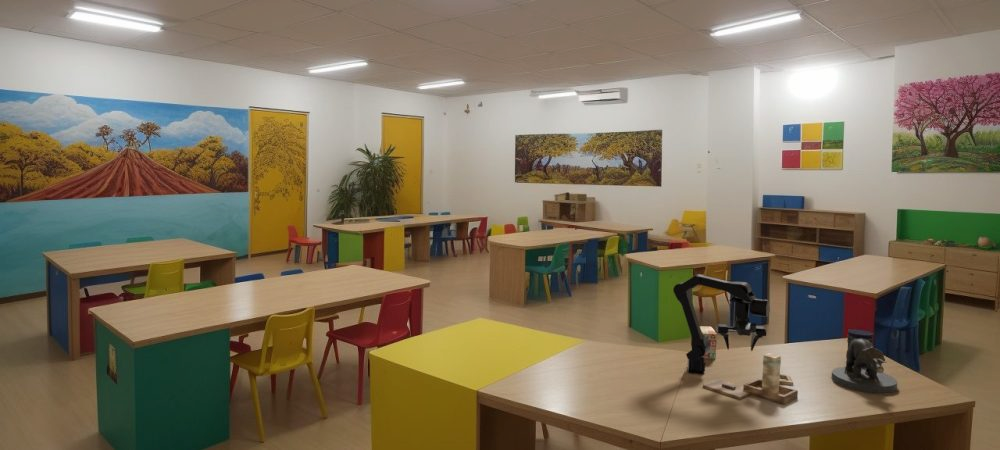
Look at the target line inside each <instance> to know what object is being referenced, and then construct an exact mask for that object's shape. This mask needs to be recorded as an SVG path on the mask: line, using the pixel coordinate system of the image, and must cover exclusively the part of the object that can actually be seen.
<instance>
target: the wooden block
mask: <svg viewBox="0 0 1000 450" xmlns="http://www.w3.org/2000/svg"><path fill="white" fill-rule="evenodd" d="M781 358H782V356H781V355H779V354H775V353H772V352H769V353H766V354H763V357H762V359H763V360H762V376H761V377H762V378H761V380H762V389H763V390H766V391H769V392H772V393H775V394H779V385H780V384H779V380H781V378H780V374H781V363H782V362H781V361H782V359H781Z"/></svg>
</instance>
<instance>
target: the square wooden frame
mask: <svg viewBox="0 0 1000 450" xmlns="http://www.w3.org/2000/svg"><path fill="white" fill-rule="evenodd" d="M783 379H786V380H783ZM779 385H789V386H794V381H793V378H792V377H791V375H790V374H784V373H780V380H779Z"/></svg>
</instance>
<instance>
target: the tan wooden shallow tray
mask: <svg viewBox="0 0 1000 450" xmlns="http://www.w3.org/2000/svg"><path fill="white" fill-rule="evenodd" d="M742 387H743V390H747V391H750V392H751V395H750V396H755V397H758V398H761V399H764V400H767V401H770V402H774V403H777V404H780V405H783V406H784V405H786V404H788V403H791V402H793V401H794V400H796V399H798V392H799V391H798V389H796V388H795V389H794V388H791V387H788V386H784V385H782V384H779V394H775V393H772V392H769V391H766V390H763V389H762V378H756V379H753V380H751V381H748V382H746V383H744V384H743V386H742Z"/></svg>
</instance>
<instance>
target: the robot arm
mask: <svg viewBox="0 0 1000 450" xmlns="http://www.w3.org/2000/svg"><path fill="white" fill-rule="evenodd" d="M699 285H700V286H703V287H708V288H711V289H716V290H720V291H723V292H727V293H728V294H729V295H731V296H732V297H731V298H730V299H729V300H728V301H729V302H731V303H733V304H734V305H733V307H734V308H733V324H732V325H733V326H728V325H727V324H726V323H717V324H716V325H715V332H716V333H717V334H719V335H720V336H723V339H724V342H725V346H726V348H727V350H728V351H729V350H730V343H729V340H730V339H729V337H730V335H729V332H732V333H733V332H735V333H737V335H739V336H748V337H750V336H751V338H750V339H751V340H750V351H751V352H753V350H754V348H755V345H756V344H757V341H759V340H760V339H763V337H767V330H766V329H765V327H764V326H762V325H757V324H756V323H755V322H754V323H753V322H750V314H752V316H758V317H762V318H763V317H764V318H765V317H766V318H768V317H770V312H771V311H770V310H771V307H770V303H769V300H768V299H761V298H757V296H756V295H755V293H754V292H753V291H752V286H751V284H749V282H746V281H728V280H723V279H719V278H716V277H711V276H707V275H703V274H699V273H698V274H695V275H693V276H692V277H690V278H689V279H687V280H686V281H682V282H679V283H677V284H675V285H674V287H673V289H672V290H673V291H672V292H673V294H674V296H675V298H676V300H677V301H678V303H680V305H681V307H682V310H683V314H684V317H685V320H686V323H687V327H688V329H689V332H690V336H691V339H690V346H691V350H690V351H688V352H687V353H686V354H685V356H686V359H687V367H686V368H687V372H688V373H689V374H701V375H704V374H705V371H706V361H705V359H704V358H703V356H705V354H706V353H707V352H709V350H710V345H711V344H710V342H709V338H708V336H706V337H705V336H704V335H703V334H702V332H701V329H700V324H699V323H700V322H699V319H698V316H697V313H696V310H695V307H694V304H693V290H692V289H693V288H695V287H697V286H699Z"/></svg>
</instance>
